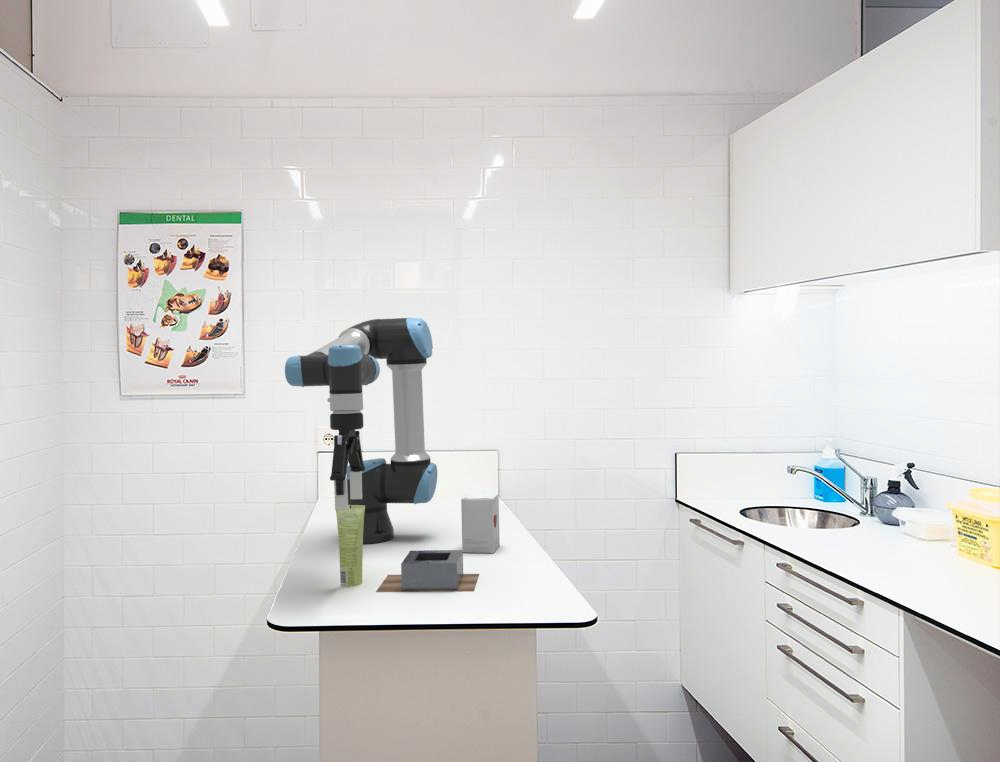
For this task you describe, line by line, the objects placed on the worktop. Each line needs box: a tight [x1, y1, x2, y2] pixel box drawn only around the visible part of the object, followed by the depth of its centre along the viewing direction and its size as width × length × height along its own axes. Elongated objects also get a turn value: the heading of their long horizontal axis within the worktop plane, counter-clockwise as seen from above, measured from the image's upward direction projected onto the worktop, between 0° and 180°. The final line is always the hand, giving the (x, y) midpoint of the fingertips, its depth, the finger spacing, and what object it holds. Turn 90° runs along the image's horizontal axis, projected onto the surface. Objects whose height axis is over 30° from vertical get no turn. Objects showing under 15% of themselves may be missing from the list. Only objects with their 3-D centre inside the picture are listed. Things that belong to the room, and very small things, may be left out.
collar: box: [400, 549, 464, 590], centre depth 182 cm, size 12×12×6 cm
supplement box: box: [460, 492, 501, 554], centre depth 218 cm, size 9×9×15 cm
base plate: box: [375, 573, 480, 593], centre depth 182 cm, size 14×22×1 cm, turn 86°
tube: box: [335, 505, 365, 588], centre depth 184 cm, size 6×5×20 cm
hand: (349, 504), depth 183 cm, fingers open, 13 cm apart
